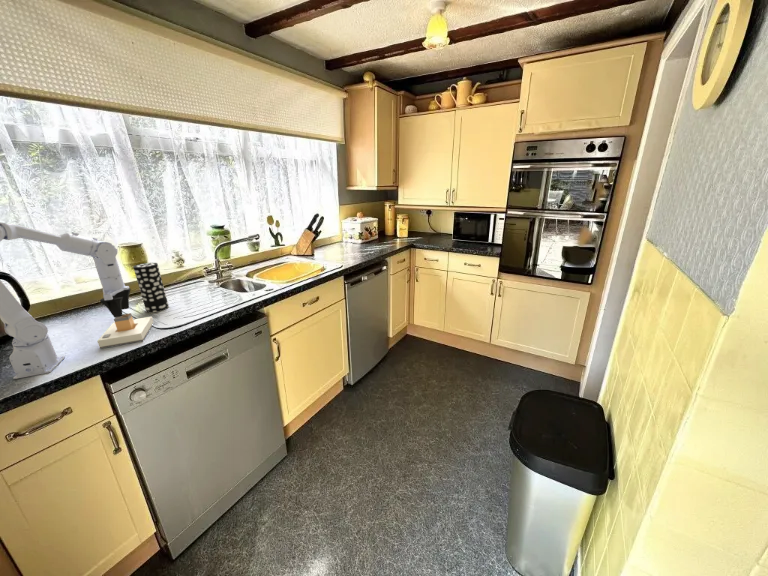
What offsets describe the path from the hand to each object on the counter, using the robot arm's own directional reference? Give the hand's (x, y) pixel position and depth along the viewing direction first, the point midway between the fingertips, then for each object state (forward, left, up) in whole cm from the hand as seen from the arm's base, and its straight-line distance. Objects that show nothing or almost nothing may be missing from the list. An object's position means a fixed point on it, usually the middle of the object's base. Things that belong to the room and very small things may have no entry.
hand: (121, 312), depth 110 cm
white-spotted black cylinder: (+26, -4, -9) cm, 28 cm away
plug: (0, 0, -8) cm, 8 cm away
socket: (0, 0, -9) cm, 9 cm away
